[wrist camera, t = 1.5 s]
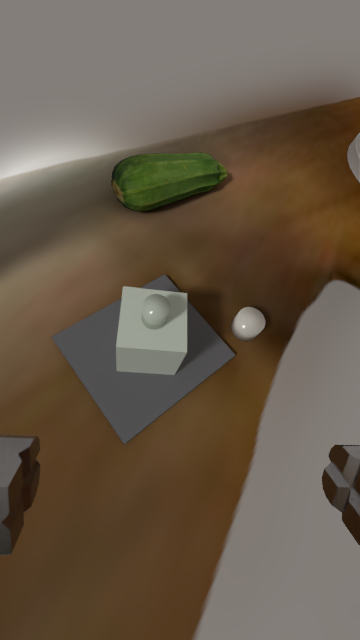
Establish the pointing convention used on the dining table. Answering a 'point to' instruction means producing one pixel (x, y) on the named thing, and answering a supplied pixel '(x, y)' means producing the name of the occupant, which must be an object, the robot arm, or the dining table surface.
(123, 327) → the square capped bottle
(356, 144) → the dome cover
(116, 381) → the mat
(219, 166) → the vegetable
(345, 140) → the dining table surface
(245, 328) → the glossy white pebble
